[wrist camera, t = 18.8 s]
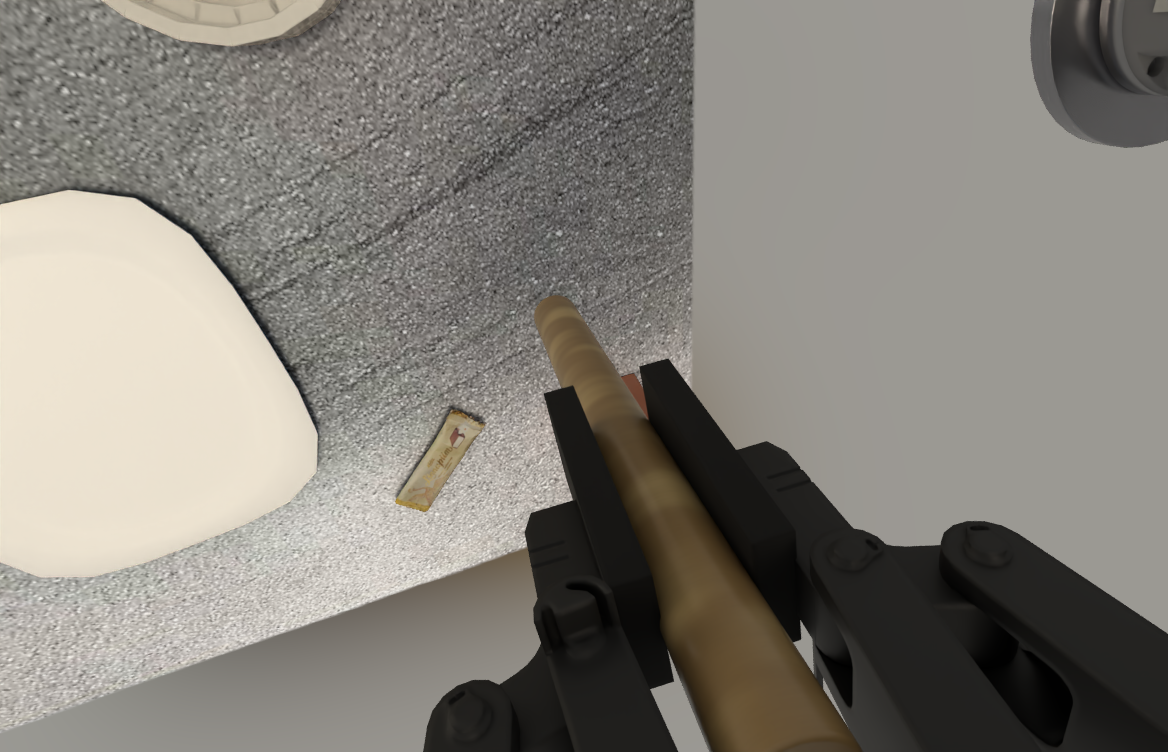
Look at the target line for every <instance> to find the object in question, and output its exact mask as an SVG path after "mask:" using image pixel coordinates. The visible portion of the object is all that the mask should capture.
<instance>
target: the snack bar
mask: <svg viewBox="0 0 1168 752" xmlns="http://www.w3.org/2000/svg"><path fill="white" fill-rule="evenodd" d="M471 418H472V419H474V417H472V416H470V418H468V415H465V414H464V413H462V412H460V411H457V410H454V411H453V410H451V411H450V413H449V415H448V417H446V419H447V421H446V422H445V424H444V426H443V427H442V429H441V431H440V432H439V434H438V436H437V438H436V439H435V441H434V442H433V444H432V446H431V447H430V449H429V450H428V452H427V453H426V455H425V456H424V458H423V459H422V461H421V462H420V463H419V465H418V466H417V468H416V470H415V471H414V472H413V474H412V475H411V477H410V479H409V480H408V482H407V484H406V485H405V486H404V488H403V489H402V491H401V493H400V494H399V495H398V497H397V499H396V501H395V502H396V504H399V505H402V506H406V507H407V508H412V509H416V510H419V511H422V512H426V511H428V509H429V508H430V506H431V505H432V503H433V501H434V500H435V498H436V497H437V495H438V494H439V492H440V490H441V489H442V487H443V486H444V484H445V482H446V481H447V479H448V478H449V476H450V475H451V473H452V472H453V471H454V469H455V468H456V466H457V465H458V463H459V462H460V461H461V459H462V458H463V456H464V455H465V453H466V451H467V450H468V448H469V447H470V445H471V444H472V442H473V441H474V440H475V438H476V437H477V436H478V434H479V433H480V432H481V431H482V429H483V428H484V426H485V424H487V423H486V422H482V421H478V420H477V422H478V423H477V422H476V421H473V420H472V419H471ZM480 422H481V424H480ZM483 423H484V424H483Z"/></svg>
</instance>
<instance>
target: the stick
mask: <svg viewBox="0 0 1168 752" xmlns="http://www.w3.org/2000/svg"><path fill="white" fill-rule="evenodd" d="M534 320H535V324H536V327H537V329H538V332H539V334H540V336H541V339H542V341H543V344H544V346H545V349H546V351H547V354H548V356H549V359H550V361H551V363H552V366H553V368H554V371H555V373H556V376H557V378H558V381H559V383H560V386H561V388H565V387H569V386H572V385H573V386H574V388H575V391H576V393H577V396H578V398H579V400H580V403H581V405H582V408H583V410H584V412H585V415H586V417H587V420H588V422H589V424H590V427H591V429H592V431H593V434H594V436H595V439H596V441H597V443H598V446H599V448H600V451H601V453H602V455H603V458H604V460H605V463H606V465H607V467H608V470H609V472H610V475H611V477H612V479H613V482H614V484H615V487H616V489H617V491H618V494H619V496H620V499H621V501H622V503H623V506H624V508H625V511H626V513H627V515H628V518H629V520H630V523H631V525H632V527H633V530H634V532H635V535H636V537H637V539H638V542H639V544H640V547H641V549H642V551H643V554H644V556H645V559H646V561H647V563H648V566H649V568H650V571H651V573H652V576H653V581H654V586H655V591H656V596H657V601H658V605H659V610H660V615H661V618H660V631H661V634H662V636H663V639H664V641H665V644H666V646H667V649H668V651H669V653H670V656H671V659H672V661H673V663H674V666H675V668H676V671H677V673H678V675H679V678H680V681H681V683H682V686H683V688H684V690H685V693H686V695H687V698H688V700H689V703H690V705H691V708H692V710H693V713H694V715H695V717H696V720H697V722H698V725H699V727H700V730H701V732H702V735H703V737H704V739H705V742H706V744H707V747H708V749H709V752H863V751H862V749H861V747H860V745H859V744H858V742H857V741H856V739H855V738H854V736H853V734H852V733H851V731H850V730H849V728H848V727H847V725H846V724H845V722H844V721H843V719H842V718H841V716H840V715H839V713H838V711H837V710H836V708H835V707H834V705H833V704H832V702H831V701H830V699H829V697H828V696H827V694H826V693H825V691H824V690H823V688H822V687H821V685H820V684H819V682H818V680H817V679H816V677H815V676H814V674H813V673H812V671H811V670H810V668H809V667H808V665H807V663H806V662H805V660H804V659H803V657H802V656H801V654H800V653H799V651H798V650H797V648H796V646H795V645H794V644H793V642H792V640H791V639H790V637H789V636H788V634H787V633H786V631H785V630H784V628H783V626H782V625H781V623H780V622H779V620H778V619H777V617H776V616H775V614H774V613H773V611H772V609H771V608H770V606H769V605H768V603H767V602H766V600H765V599H764V597H763V596H762V594H761V592H760V591H759V589H758V588H757V586H756V585H755V583H754V582H753V580H752V579H751V577H750V576H749V574H748V573H747V571H746V569H745V568H744V566H743V565H742V563H741V562H740V560H739V559H738V557H737V556H736V554H735V553H734V551H733V549H732V548H731V546H730V545H729V543H728V542H727V540H726V539H725V537H724V536H723V534H722V532H721V531H720V529H719V528H718V526H717V525H716V523H715V522H714V520H713V519H712V517H711V515H710V514H709V512H708V511H707V509H706V508H705V506H704V505H703V503H702V502H701V500H700V498H699V497H698V495H697V494H696V492H695V491H694V489H693V488H692V486H691V485H690V483H689V481H688V480H687V478H686V477H685V475H684V474H683V472H682V471H681V469H680V468H679V466H678V465H677V463H676V461H675V460H674V458H673V457H672V455H671V454H670V452H669V451H668V449H667V448H666V446H665V444H664V443H663V441H662V440H661V438H660V437H659V435H658V434H657V432H656V431H655V429H654V427H653V426H652V424H651V423H650V421H649V420H648V418H647V417H646V415H645V414H644V412H643V410H642V409H641V407H640V406H639V404H638V403H637V401H636V400H635V398H634V397H633V395H632V393H631V392H630V390H629V389H628V387H627V386H626V384H625V383H624V381H623V380H622V378H621V376H620V375H619V373H618V372H617V370H616V369H615V367H614V366H613V364H612V363H611V361H610V360H609V358H608V356H607V355H606V353H605V352H604V350H603V349H602V347H601V346H600V344H599V343H598V341H597V339H596V338H595V336H594V335H593V333H592V332H591V330H590V329H589V327H588V326H587V324H586V322H585V321H584V319H583V318H582V316H581V315H580V313H579V312H578V310H577V309H576V307H575V306H574V304H573V303H572V302H571V301H570V300H569V299H568V298H566V297H563V296H559V295H554V296H549V297H547V298H545V299H543V300H542V301H541V302H540V303H539V304H538V306H537V308H536V310H535V314H534Z"/></svg>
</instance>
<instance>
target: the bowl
mask: <svg viewBox="0 0 1168 752" xmlns="http://www.w3.org/2000/svg"><path fill="white" fill-rule="evenodd" d="M102 1H103V2H104V3H106V4H107V5H108V6H110V7H111V8H112V9H114V10H115V11H116V12H118V13H119V14H120V15H122V16H125V18H127V19H129V20H132V21H134V22H136V23H139V24H141V25H143V26H146V27H148V28H151V29H153V30H155V31H158V32H160V33H163V34H165V35H167V36H170V37H172V38H175V39H177V40H180V41H187V42H196V43H205V44H214V45H223V46H249V45H260V44H265V43H269V42H274V41H278V40H283V39H287V38H292V37H296V36H298V35H301V34H302V33H304V32H305V31H307V30H308V29H310V28H311V27H313V26H314V25H316V24H317V23H319V22H320V21H322V20H323V19H325V18H326V17H328V16H329V15H330V14H332V12H334V10H335V9H336V8H337V6H338V5H339V3H340V2H341V0H102Z"/></svg>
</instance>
